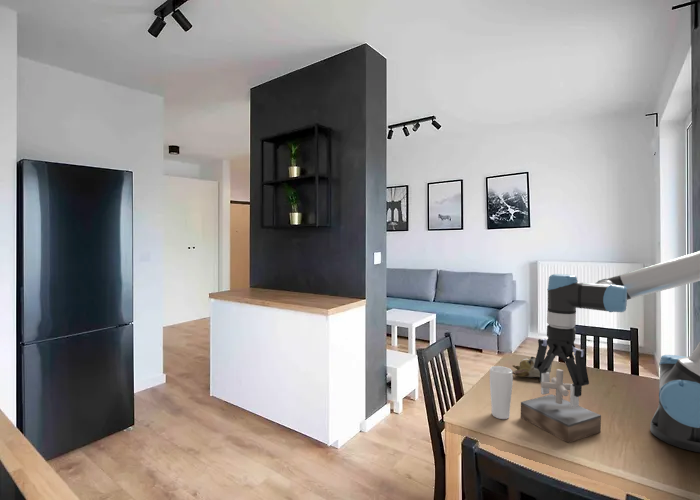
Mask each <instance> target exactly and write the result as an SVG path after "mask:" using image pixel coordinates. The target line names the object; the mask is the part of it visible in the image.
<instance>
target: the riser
mask: <svg viewBox="0 0 700 500" xmlns="http://www.w3.org/2000/svg"><path fill="white" fill-rule="evenodd" d="M520 418H521V419H523V420H524V419H525V420H524V421H526V422H527V423H530V424H531V425H534V426H535V427H537V428H539V429H542V430H543V431H545V432H547V433H549V434H551V435H552V436H555V437H557V438H558V439H560V440H562V441H563V442H564V441H565V442H566V443H572V442H575V441H578V440H581V439H584V438H587V437H590V436H593V435H595V434H599V433H601V432H602V430H601V428H602V427H601V426H602V415H601V414H599V413H598V412H594V411H592V410H590V409H587V408H585V407H583V406H580V405H579V406H576V407H573V408H572V407H570V400H567V399H564V398H563V402H562V404H558V403H556V394H555V395H554V394H548V395H547V394H546V395H544V396H540V397H536V398H531V399H527V400H523V401H520Z"/></svg>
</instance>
